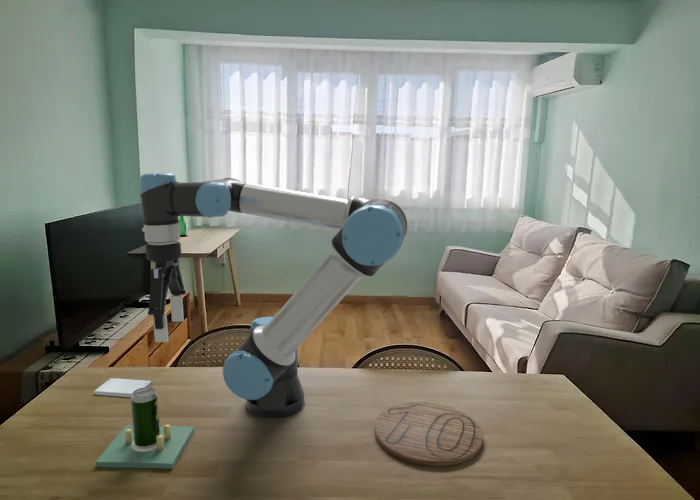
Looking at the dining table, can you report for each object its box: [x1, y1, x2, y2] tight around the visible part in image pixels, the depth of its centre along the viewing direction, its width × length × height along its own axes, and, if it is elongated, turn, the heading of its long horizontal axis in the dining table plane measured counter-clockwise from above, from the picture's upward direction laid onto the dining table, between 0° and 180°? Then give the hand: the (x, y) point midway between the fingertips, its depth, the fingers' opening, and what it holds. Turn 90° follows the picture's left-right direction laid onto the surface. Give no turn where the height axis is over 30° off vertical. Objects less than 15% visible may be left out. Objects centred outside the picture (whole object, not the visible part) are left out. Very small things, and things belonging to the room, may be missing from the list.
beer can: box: [130, 386, 161, 449], centre depth 109 cm, size 5×5×12 cm
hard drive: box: [93, 377, 154, 398], centre depth 137 cm, size 2×8×12 cm
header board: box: [95, 424, 195, 470], centre depth 110 cm, size 16×14×4 cm
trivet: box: [374, 401, 483, 468], centre depth 118 cm, size 25×25×2 cm
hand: (170, 330), depth 117 cm, fingers open, 13 cm apart
